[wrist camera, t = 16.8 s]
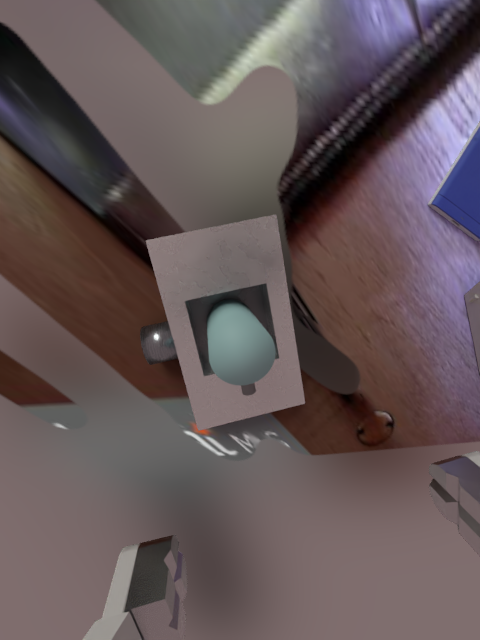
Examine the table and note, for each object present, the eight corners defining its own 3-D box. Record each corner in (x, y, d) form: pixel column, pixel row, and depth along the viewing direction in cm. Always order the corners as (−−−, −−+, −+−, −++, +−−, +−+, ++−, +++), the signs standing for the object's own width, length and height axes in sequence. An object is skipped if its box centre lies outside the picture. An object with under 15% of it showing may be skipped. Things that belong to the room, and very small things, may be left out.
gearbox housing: (266, 218, 30) (276, 214, 26) (293, 386, 35) (305, 404, 31) (123, 247, 29) (110, 247, 24) (174, 416, 34) (170, 438, 30)
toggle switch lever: (248, 294, 31) (269, 315, 21) (259, 351, 33) (283, 394, 23) (201, 304, 30) (201, 330, 21) (215, 361, 32) (221, 409, 23)
